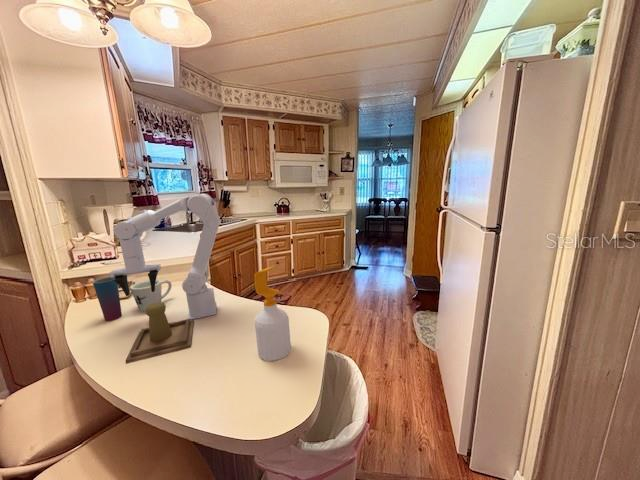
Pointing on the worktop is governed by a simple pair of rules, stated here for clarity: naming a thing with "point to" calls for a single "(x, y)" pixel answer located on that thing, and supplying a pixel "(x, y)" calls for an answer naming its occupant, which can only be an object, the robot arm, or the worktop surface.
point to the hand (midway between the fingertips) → (141, 292)
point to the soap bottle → (271, 323)
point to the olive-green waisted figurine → (158, 322)
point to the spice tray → (175, 342)
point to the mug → (148, 293)
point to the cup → (108, 297)
